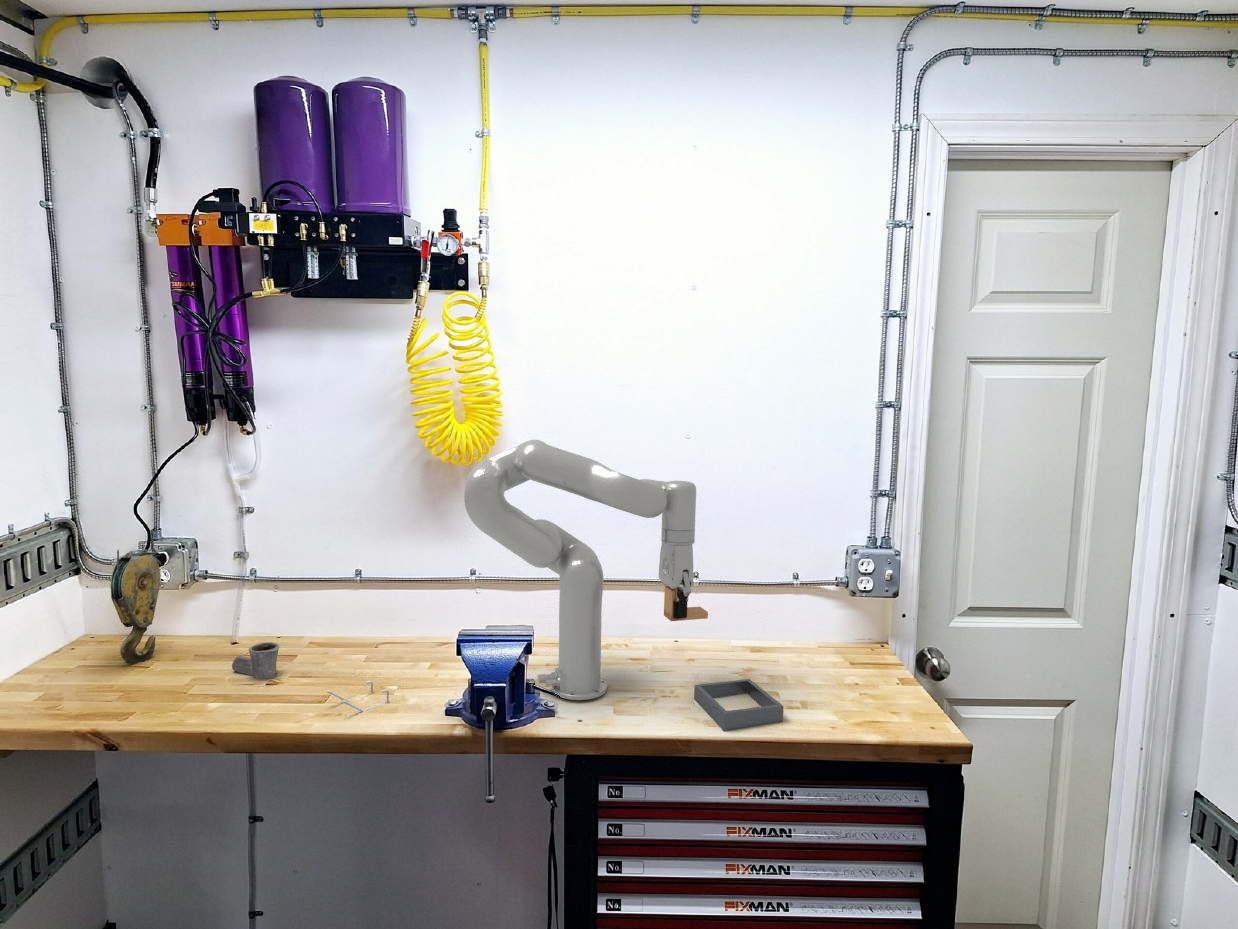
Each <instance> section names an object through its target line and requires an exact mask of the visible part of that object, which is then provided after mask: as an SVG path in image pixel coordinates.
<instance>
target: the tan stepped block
mask: <svg viewBox="0 0 1238 929" xmlns="http://www.w3.org/2000/svg"><path fill="white" fill-rule="evenodd" d="M664 590H665V592H663V593H664V596H663V598H664V599H663V600H664V601H663V603H664V604H663V616H664V617H665V618H667V620H669V621H670V622H679V621H690V620H691V621H692V620H694V621H695V620H703V619H705V620H706V619H708V617H709V612H708V611H707V610H706V609H704V608H703V607H702V606H690V607H688V606H687V617H686V618H679V619H674V618H673V601H675V589H672V588H670V587H669V586H665V585H664ZM682 591H683V590H679V594H680V592H682Z"/></svg>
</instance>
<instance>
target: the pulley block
mask: <svg viewBox="0 0 1238 929" xmlns="http://www.w3.org/2000/svg"><path fill="white" fill-rule="evenodd" d="M154 545H155V543H154V539H150V549H146V548H141V549H137V550H130V551H129V552H127V553H125V554H124V555H122V556H121V557H120V551H119V549H117V551H116V563H115V564H114V567H113V570H112V574H111V577H110V597H111V602H112V603H113V606H114V608H115V610H116V612H117V615H118V618H119V620H120V622H121V624H122V625H123V626H124V627H125V628H132V629H131V631H130V633H129V634H128V635H127V636H126V637H125V639H124V640H123V641H122V642H121V644H120V649H119V650H120V651H119V652H120V655H121V658H122V659H123V660H124V664H127V665H130V664H131V665H134V664H139V662H140V663H144V662H147V661H148V660H149V659H150V658H151V657H152V656H153V655H154V652H155V648H156V635H154V634H153V635H150V636H149V637H148V639H147V640H146V642H145V644H144V647H143V648H142V649H140V650H138V651H137V647H138V645H140V643H141V641H142V638H143V636H144V634H145V632H147V631H148V627H149V626H151V625H152V624H153V621H154V616H155V612H156V606H157V601H158V598H159V592H160V587H161V583H162V580H161V576H162V575H161V568H160V565H162V563H161V561H160V560H159V559H157V557H156V556H155V555H156V554H159V550H157V549H156V548H155V547H154Z"/></svg>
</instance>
